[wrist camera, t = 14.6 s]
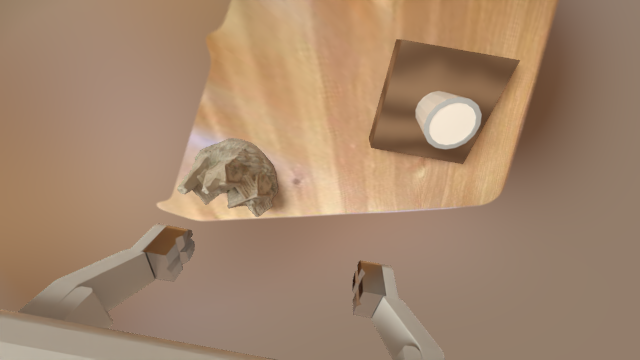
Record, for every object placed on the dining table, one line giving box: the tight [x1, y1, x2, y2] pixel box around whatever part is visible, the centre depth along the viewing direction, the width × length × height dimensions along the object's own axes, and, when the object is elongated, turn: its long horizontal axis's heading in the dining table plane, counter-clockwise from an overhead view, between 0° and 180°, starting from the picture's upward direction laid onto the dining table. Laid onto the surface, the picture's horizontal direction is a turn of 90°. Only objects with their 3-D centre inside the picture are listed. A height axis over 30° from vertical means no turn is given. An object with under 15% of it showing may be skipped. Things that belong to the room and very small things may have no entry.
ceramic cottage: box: [178, 139, 278, 217], centre depth 45 cm, size 16×16×15 cm
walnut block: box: [369, 39, 520, 164], centre depth 37 cm, size 16×16×5 cm
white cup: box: [415, 91, 482, 149], centre depth 32 cm, size 7×7×7 cm
